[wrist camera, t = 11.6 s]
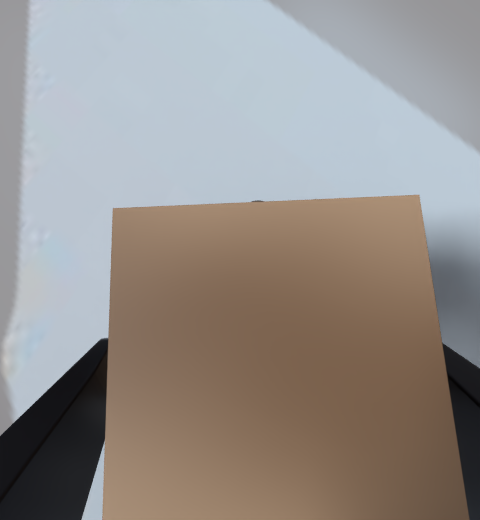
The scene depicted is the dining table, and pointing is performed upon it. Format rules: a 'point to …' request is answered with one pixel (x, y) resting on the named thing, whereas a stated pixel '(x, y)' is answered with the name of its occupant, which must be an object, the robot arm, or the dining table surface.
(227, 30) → the dining table surface
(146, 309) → the tan tall block
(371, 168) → the dining table surface
